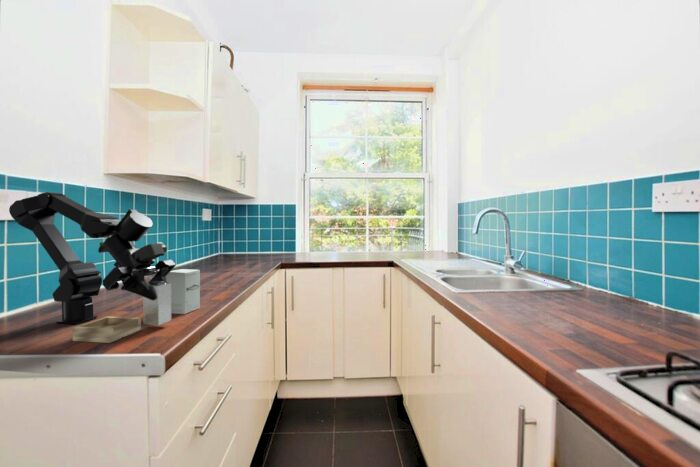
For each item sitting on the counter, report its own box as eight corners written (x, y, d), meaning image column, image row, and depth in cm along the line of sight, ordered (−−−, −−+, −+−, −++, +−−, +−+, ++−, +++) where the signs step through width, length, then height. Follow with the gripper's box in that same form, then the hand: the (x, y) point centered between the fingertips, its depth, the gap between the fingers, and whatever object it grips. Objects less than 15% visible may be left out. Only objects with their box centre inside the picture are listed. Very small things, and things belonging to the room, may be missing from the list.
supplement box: (185, 314, 99) (184, 272, 98) (163, 313, 100) (163, 271, 100) (200, 308, 106) (200, 269, 105) (180, 307, 107) (180, 268, 107)
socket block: (143, 323, 85) (143, 282, 85) (156, 318, 89) (156, 279, 89) (158, 325, 84) (158, 283, 84) (171, 320, 88) (171, 280, 88)
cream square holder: (72, 340, 77) (72, 327, 76) (107, 327, 86) (107, 316, 86) (109, 342, 75) (109, 329, 75) (141, 329, 85) (140, 318, 85)
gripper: (112, 233, 77) (153, 282, 76) (170, 231, 96) (204, 271, 94) (84, 265, 79) (124, 314, 78) (146, 257, 98) (179, 297, 96)
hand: (162, 297), depth 86 cm, fingers closed on socket block, 4 cm apart
